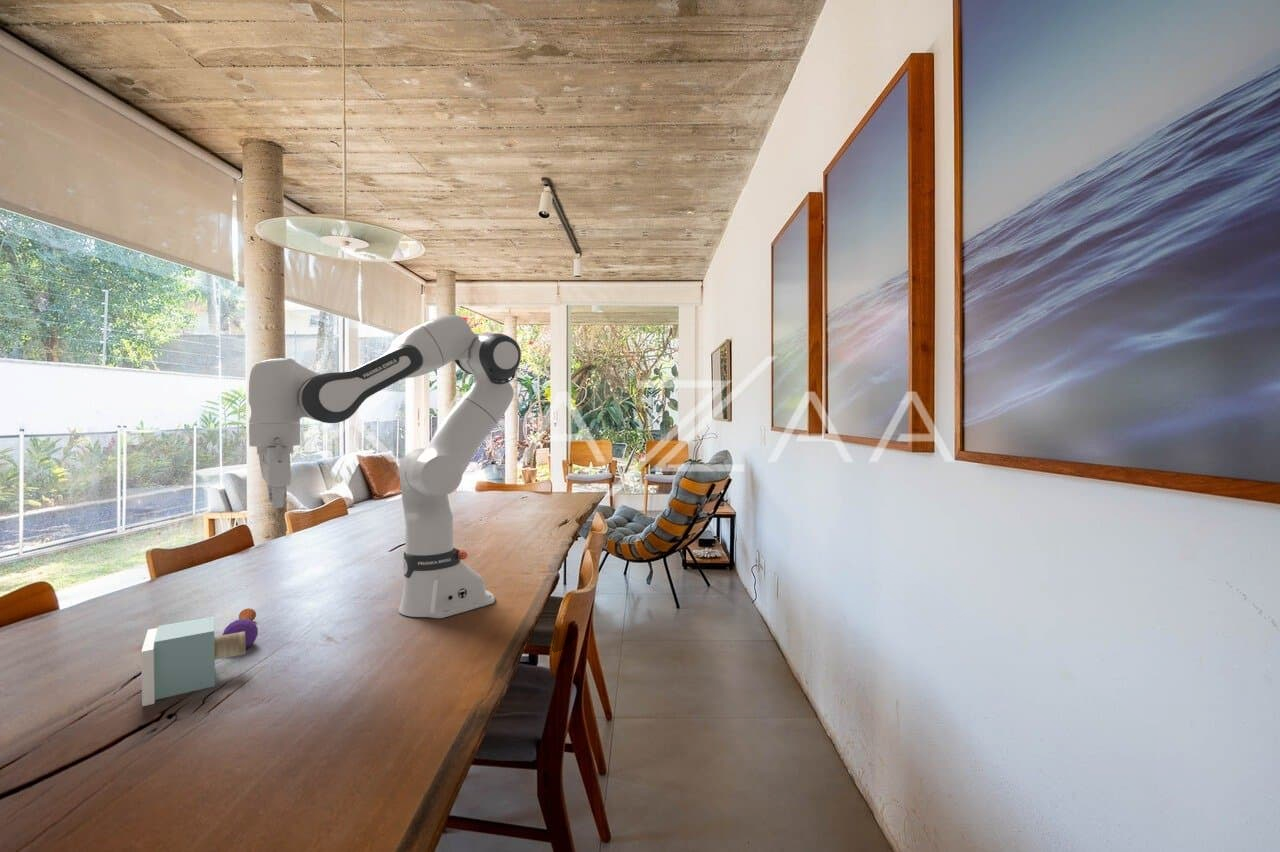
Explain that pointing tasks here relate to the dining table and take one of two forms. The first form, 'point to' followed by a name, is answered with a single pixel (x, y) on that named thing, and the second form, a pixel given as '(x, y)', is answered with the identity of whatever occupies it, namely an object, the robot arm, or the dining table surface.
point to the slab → (148, 668)
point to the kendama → (244, 626)
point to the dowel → (229, 645)
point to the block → (184, 657)
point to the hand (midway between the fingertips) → (276, 504)
